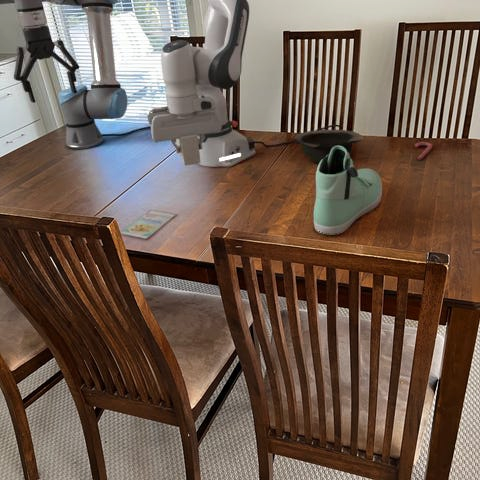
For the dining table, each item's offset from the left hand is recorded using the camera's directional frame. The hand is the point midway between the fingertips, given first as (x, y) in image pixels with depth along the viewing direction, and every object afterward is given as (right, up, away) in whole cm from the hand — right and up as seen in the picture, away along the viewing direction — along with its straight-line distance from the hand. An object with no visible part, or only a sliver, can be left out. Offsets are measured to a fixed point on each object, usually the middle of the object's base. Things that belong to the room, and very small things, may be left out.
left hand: (54, 97), depth 155 cm
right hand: (+45, -20, -14) cm, 51 cm away
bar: (+43, -19, -6) cm, 48 cm away
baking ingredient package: (+34, -42, -17) cm, 56 cm away
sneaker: (+92, -37, -17) cm, 100 cm away
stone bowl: (+92, -16, +19) cm, 95 cm away
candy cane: (+125, -15, +15) cm, 127 cm away
